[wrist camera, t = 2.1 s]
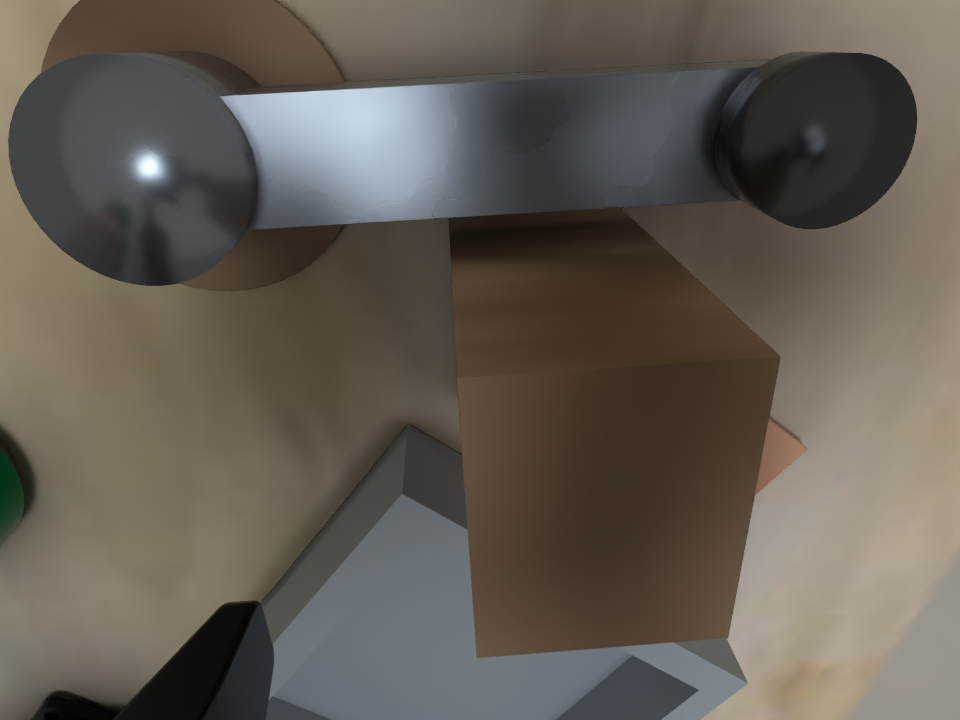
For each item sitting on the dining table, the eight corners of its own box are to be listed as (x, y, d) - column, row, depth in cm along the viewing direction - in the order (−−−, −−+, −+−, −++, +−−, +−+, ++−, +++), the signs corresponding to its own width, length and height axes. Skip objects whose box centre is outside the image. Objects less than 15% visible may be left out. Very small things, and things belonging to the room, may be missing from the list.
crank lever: (139, 237, 14) (32, 307, 10) (85, 55, 12) (-65, 62, 9) (780, 198, 14) (897, 252, 11) (811, 17, 13) (960, 8, 9)
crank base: (661, 564, 20) (667, 578, 20) (8, 173, 14) (-10, 178, 13) (819, 424, 18) (831, 435, 18) (133, -112, 12) (119, -119, 11)
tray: (487, 785, 25) (493, 875, 22) (203, 672, 21) (169, 764, 19) (708, 601, 21) (747, 683, 18) (407, 423, 17) (402, 493, 15)
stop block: (461, 400, 17) (476, 658, 10) (448, 216, 15) (456, 378, 8) (608, 390, 17) (727, 638, 10) (618, 205, 15) (780, 356, 8)
